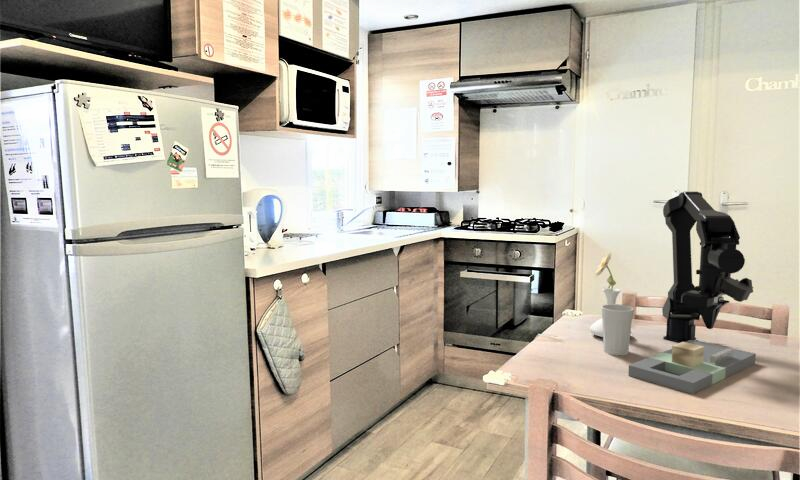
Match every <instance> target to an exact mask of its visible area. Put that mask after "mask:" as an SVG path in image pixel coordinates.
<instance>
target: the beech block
mask: <svg viewBox="0 0 800 480" xmlns="http://www.w3.org/2000/svg"><path fill="white" fill-rule="evenodd" d="M672 346H673V348H672V347H671V349H672V362H674V363H678V364H682V365H686V366H690V367H695V366H697V365H700V364H702V363H703V357H704V346H700V345H695V344H691V343H687V342H677V343H676V344H673V345H672Z"/></svg>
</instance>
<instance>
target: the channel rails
mask: <svg viewBox="0 0 800 480" xmlns="http://www.w3.org/2000/svg"><path fill="white" fill-rule="evenodd" d="M686 342H687V343H691V344H695V341H694V340H688V341H686ZM672 348H673V345H672V346H671V349H672ZM729 348H730V347H728V348H727V349H725V350H722V351H720V352H718V353H715V354H713V355H711V356H710V364H713V365H717V364H719V363H721V362H723V361H726V360H728V359H730V358H732V356H733V349H734V348H733V349H729Z"/></svg>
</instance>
